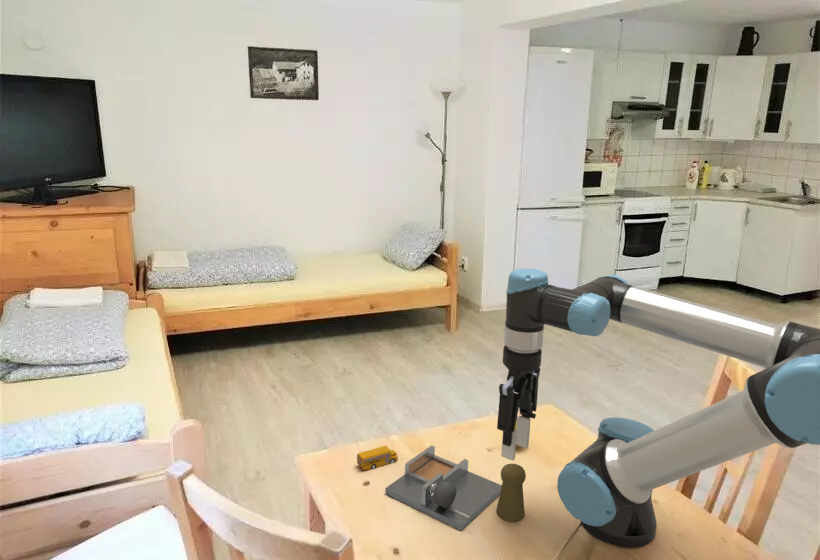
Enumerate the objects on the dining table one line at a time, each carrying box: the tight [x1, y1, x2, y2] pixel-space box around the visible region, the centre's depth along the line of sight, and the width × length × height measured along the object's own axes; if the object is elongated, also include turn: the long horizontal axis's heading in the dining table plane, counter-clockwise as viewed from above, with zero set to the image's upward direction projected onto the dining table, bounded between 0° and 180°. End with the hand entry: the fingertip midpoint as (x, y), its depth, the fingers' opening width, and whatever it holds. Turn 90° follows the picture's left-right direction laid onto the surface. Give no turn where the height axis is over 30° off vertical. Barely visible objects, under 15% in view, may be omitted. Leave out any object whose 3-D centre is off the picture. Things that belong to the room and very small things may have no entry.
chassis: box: [384, 445, 502, 532], centre depth 135 cm, size 20×18×6 cm
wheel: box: [434, 481, 456, 508], centre depth 129 cm, size 3×5×5 cm, turn 143°
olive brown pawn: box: [495, 463, 527, 523], centre depth 128 cm, size 6×6×11 cm
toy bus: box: [356, 445, 399, 471], centre depth 147 cm, size 3×10×4 cm, turn 121°
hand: (515, 451), depth 126 cm, fingers open, 5 cm apart
